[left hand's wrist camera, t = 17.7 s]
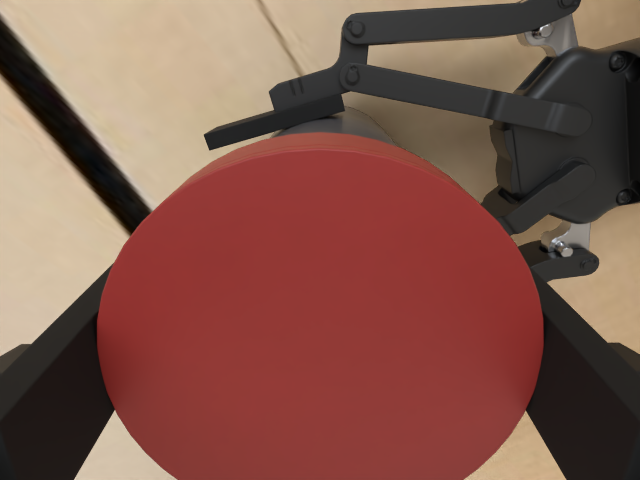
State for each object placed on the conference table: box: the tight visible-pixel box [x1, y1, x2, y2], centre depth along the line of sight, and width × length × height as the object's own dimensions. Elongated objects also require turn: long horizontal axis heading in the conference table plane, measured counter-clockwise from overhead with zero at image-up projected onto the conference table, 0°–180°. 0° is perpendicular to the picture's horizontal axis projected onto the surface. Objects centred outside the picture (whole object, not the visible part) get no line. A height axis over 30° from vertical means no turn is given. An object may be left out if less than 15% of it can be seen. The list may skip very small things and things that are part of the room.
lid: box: [97, 132, 544, 480], centre depth 11 cm, size 10×10×2 cm
